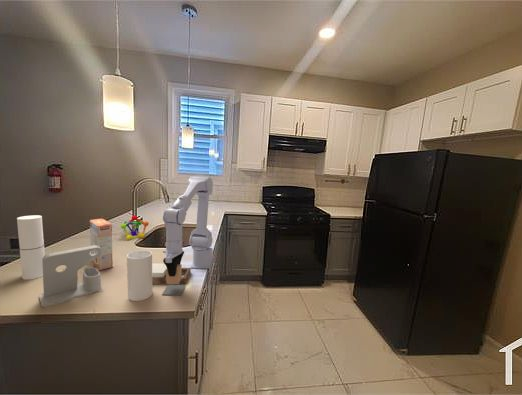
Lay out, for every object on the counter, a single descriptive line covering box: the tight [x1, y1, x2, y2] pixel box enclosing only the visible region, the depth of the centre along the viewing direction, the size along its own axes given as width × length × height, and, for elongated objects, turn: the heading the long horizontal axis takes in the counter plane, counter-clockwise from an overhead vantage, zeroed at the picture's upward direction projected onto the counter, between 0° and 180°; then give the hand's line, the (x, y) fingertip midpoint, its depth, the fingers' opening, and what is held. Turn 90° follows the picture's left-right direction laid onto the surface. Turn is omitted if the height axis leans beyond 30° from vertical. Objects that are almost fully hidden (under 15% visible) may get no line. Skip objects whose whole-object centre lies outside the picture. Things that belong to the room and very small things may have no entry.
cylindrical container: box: [16, 214, 46, 281], centre depth 95 cm, size 7×7×25 cm
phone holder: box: [38, 245, 102, 308], centre depth 85 cm, size 17×10×18 cm, turn 137°
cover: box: [152, 262, 167, 277], centre depth 100 cm, size 9×9×2 cm
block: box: [165, 263, 183, 285], centre depth 91 cm, size 4×4×6 cm
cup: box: [126, 249, 153, 302], centre depth 86 cm, size 8×8×16 cm
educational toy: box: [120, 215, 150, 241], centre depth 150 cm, size 16×13×15 cm
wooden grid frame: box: [152, 267, 192, 285], centre depth 101 cm, size 18×10×2 cm, turn 94°
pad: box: [161, 284, 186, 296], centre depth 92 cm, size 7×7×1 cm
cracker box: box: [89, 218, 114, 271], centre depth 109 cm, size 14×6×21 cm, turn 47°
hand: (174, 272), depth 91 cm, fingers closed on block, 4 cm apart
